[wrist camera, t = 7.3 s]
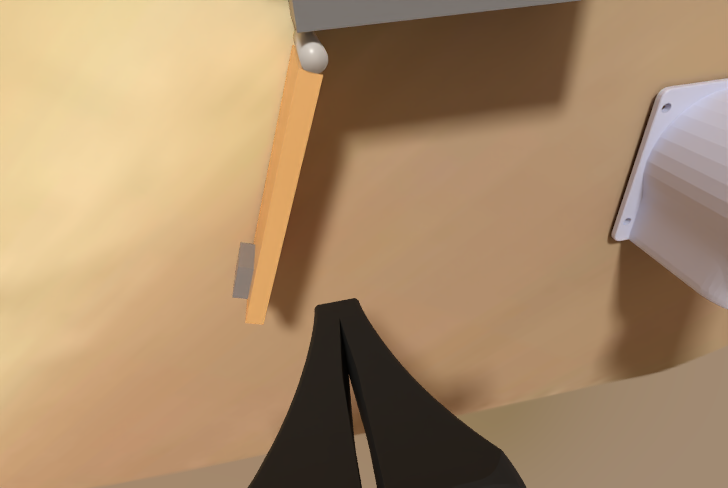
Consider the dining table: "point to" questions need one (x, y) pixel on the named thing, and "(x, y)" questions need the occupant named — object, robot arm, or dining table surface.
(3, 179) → the dining table surface
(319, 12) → the grey box with knob
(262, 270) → the side door
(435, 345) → the dining table surface
